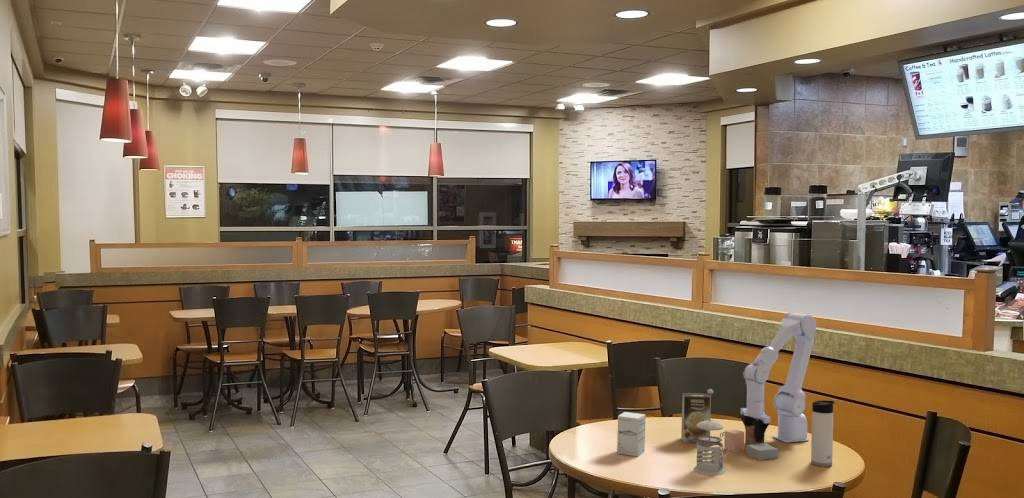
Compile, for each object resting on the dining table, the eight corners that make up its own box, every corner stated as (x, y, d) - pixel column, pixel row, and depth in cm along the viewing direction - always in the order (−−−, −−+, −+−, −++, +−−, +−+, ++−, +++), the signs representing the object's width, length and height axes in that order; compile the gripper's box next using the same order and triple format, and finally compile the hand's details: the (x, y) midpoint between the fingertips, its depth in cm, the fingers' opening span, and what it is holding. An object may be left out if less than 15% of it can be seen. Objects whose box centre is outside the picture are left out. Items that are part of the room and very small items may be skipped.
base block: (765, 452, 279) (765, 443, 279) (777, 458, 272) (778, 448, 272) (746, 454, 277) (746, 444, 277) (759, 460, 270) (759, 450, 270)
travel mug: (835, 467, 263) (836, 403, 262) (812, 466, 264) (813, 402, 263) (831, 461, 269) (832, 399, 268) (809, 460, 270) (810, 398, 269)
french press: (702, 463, 266) (703, 384, 265) (736, 470, 259) (738, 389, 258) (687, 470, 259) (688, 389, 258) (722, 478, 251) (723, 394, 250)
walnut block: (756, 442, 292) (756, 424, 292) (764, 445, 287) (764, 427, 287) (745, 443, 290) (745, 425, 290) (752, 446, 286) (753, 428, 286)
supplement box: (616, 454, 276) (616, 415, 276) (624, 448, 283) (624, 411, 282) (638, 457, 273) (638, 418, 272) (645, 451, 279) (646, 413, 279)
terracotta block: (733, 446, 286) (733, 429, 286) (744, 449, 282) (744, 431, 282) (724, 448, 284) (724, 430, 283) (734, 451, 280) (734, 433, 280)
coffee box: (682, 442, 290) (683, 396, 290) (681, 438, 297) (681, 392, 296) (710, 443, 289) (710, 397, 289) (707, 438, 296) (708, 393, 295)
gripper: (733, 396, 294) (732, 435, 294) (757, 405, 280) (757, 446, 281) (750, 395, 296) (750, 433, 297) (776, 403, 282) (775, 444, 283)
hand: (754, 439), depth 289 cm, fingers closed on walnut block, 4 cm apart
